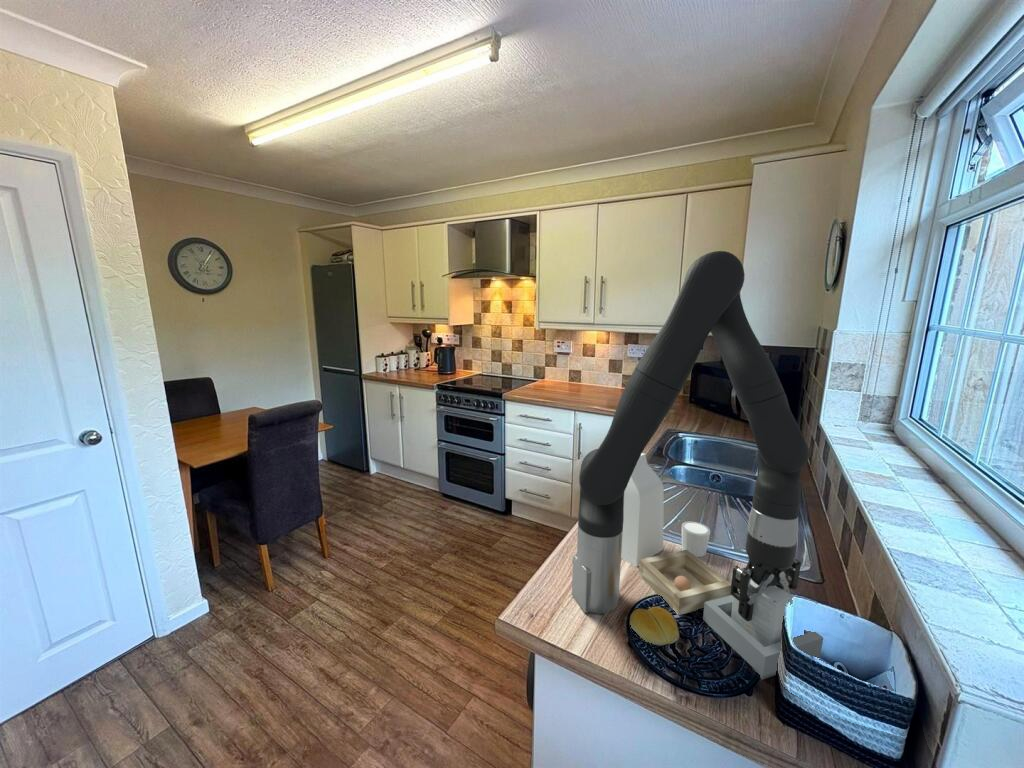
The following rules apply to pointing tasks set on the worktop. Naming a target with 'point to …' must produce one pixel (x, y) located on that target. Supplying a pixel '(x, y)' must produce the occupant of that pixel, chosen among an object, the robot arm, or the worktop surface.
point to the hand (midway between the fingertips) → (761, 613)
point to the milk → (642, 514)
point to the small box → (764, 615)
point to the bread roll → (655, 625)
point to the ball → (682, 583)
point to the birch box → (684, 563)
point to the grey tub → (746, 645)
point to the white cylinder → (695, 538)
